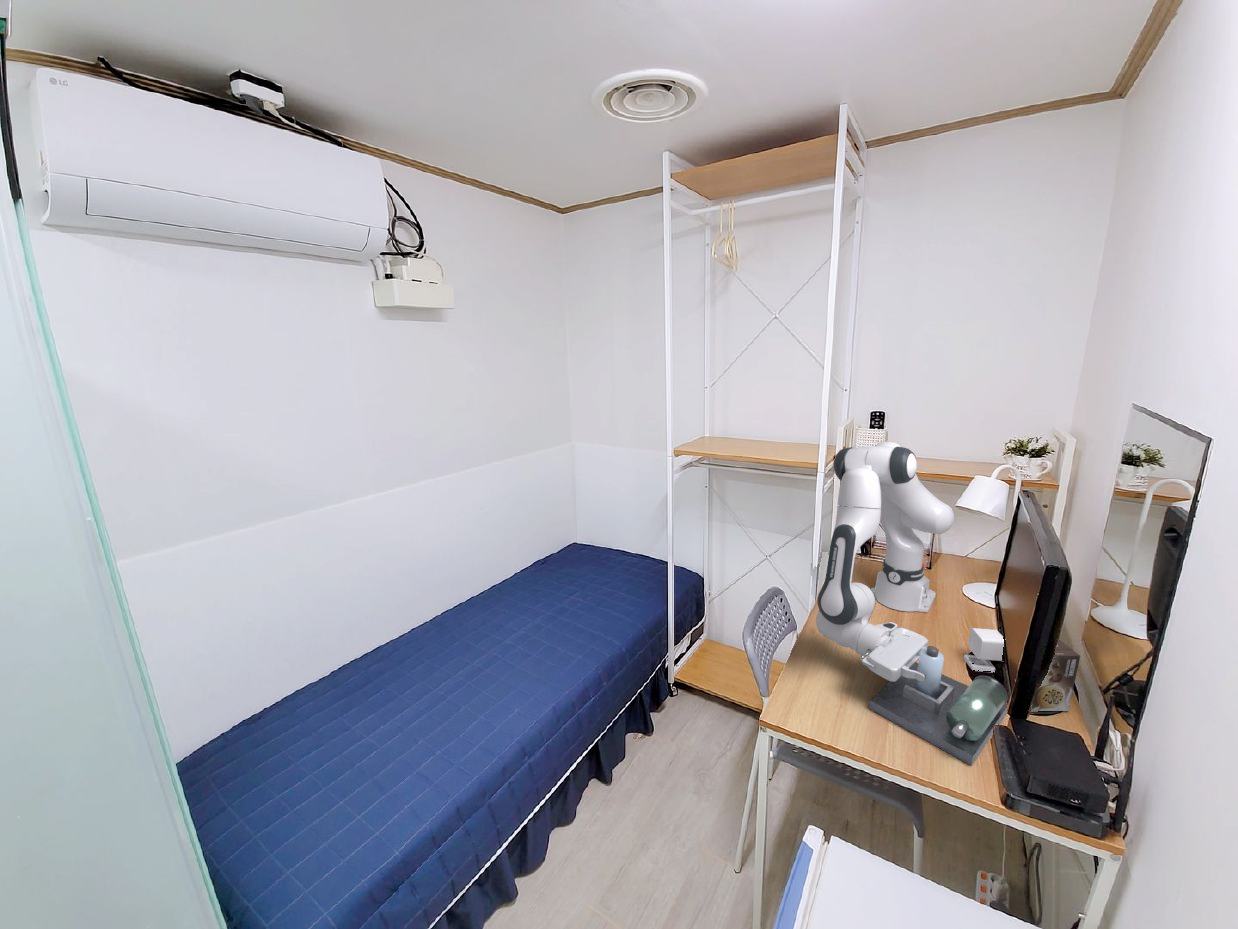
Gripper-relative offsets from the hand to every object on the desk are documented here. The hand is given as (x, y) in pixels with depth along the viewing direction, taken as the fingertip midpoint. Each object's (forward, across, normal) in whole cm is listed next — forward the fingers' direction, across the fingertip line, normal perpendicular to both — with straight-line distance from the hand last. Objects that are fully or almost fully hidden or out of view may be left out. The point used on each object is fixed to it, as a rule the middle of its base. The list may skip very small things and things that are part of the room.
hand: (933, 669), depth 121 cm
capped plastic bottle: (-1, 0, +8) cm, 8 cm away
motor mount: (+2, 0, +11) cm, 11 cm away
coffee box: (+17, +22, +11) cm, 30 cm away
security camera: (+3, +28, +11) cm, 30 cm away
